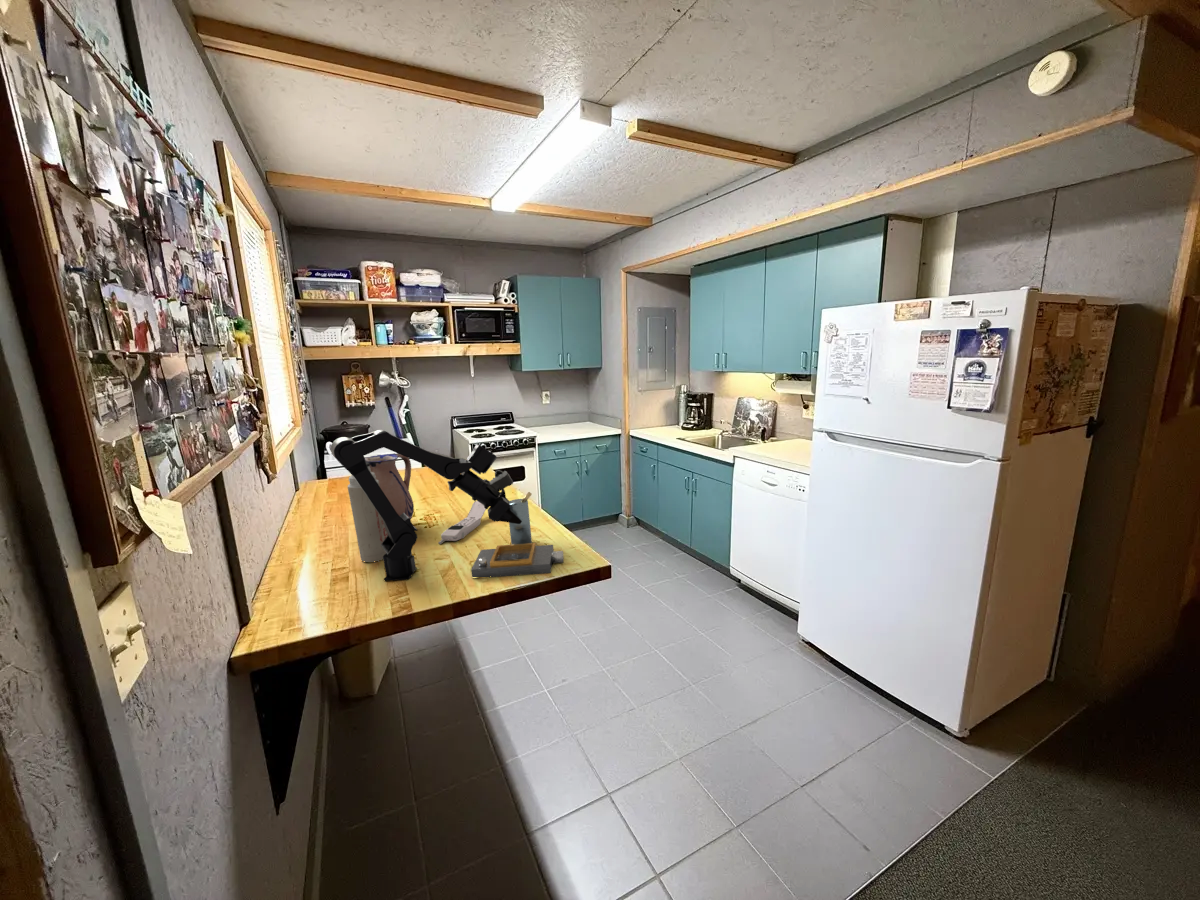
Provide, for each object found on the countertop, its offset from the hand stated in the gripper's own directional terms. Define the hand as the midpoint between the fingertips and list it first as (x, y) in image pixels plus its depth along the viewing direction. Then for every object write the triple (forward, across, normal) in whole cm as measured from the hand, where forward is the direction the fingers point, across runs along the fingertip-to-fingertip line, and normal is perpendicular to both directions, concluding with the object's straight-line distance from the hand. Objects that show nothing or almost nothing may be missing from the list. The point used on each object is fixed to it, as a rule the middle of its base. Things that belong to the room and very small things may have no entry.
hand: (518, 517), depth 138 cm
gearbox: (+4, -14, +7) cm, 16 cm away
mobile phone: (-5, +20, +17) cm, 27 cm away
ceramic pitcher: (-22, +31, +34) cm, 51 cm away
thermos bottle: (-23, +9, +35) cm, 43 cm away
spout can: (+6, 0, +6) cm, 8 cm away
